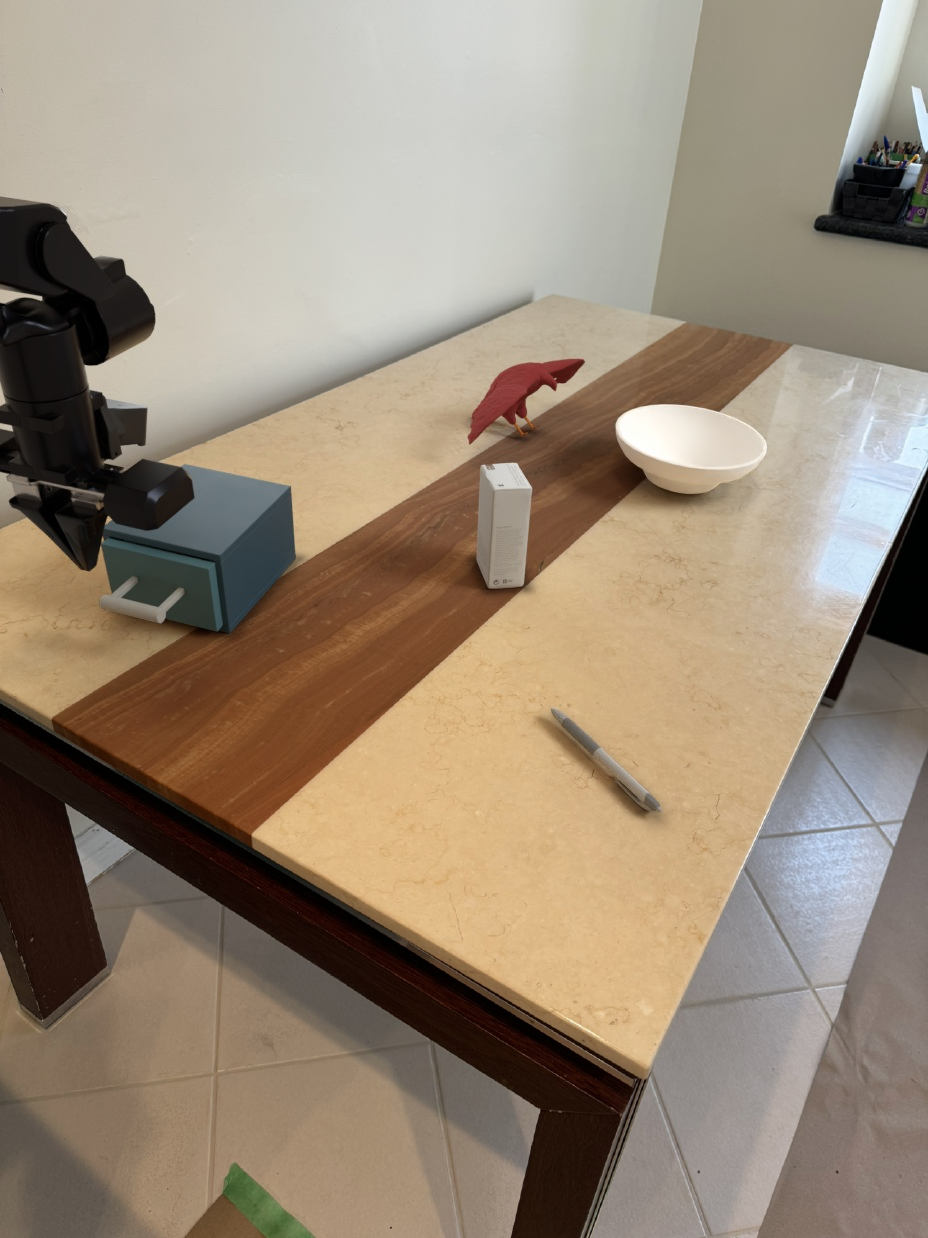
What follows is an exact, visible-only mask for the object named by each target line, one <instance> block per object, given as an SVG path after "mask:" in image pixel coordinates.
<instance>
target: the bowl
mask: <svg viewBox="0 0 928 1238" xmlns="http://www.w3.org/2000/svg"><path fill="white" fill-rule="evenodd" d="M615 436H616V441H617V443H618V445H619V447H620V449H621V451H622V452H623V454H624V456H625V457H626V458H627V459H628V460H629V461H630V462H631V463H633V464H634V465H635V466H637V467H638V468H640V469H641V470H642V471H643V473H644V475H645V477H646V478H647V480H648V481H649V482H651V483H652V484H654V485H655V486H656V487H659V488H661V489H664V490H667V491H670V492H674V493H679V494H686V495H695V494H696V495H698V494H705V493H708V492H710V491H712V490H714V489H715V488H717V486H719V485H720V484H727V483H730V482H734V481H738V480H740V479H742V478H743V477H745V476H746V475H748V474H749V473H750V472H752V471H754V470H755V469H756V468H757V467H758V466H759V464H760V463H761V462H762V460H763V459H764V457H765V455H766V454H767V451H768V445H767V442H766V440H765V438H764V437H763V436H762V434H761V433H760V432H759V431H757V430H756V429H755V428H754V427H753V426H751V425H749V424H748V423H746V422H744V421H743V420H741V419H739V418H736V417H734V416H732V415H728V414H725V413H723V412H721V411H716V410H712V409H709V408H704V407H700V406H699V407H698V406H692V405H685V404H684V405H683V404H668V403H667V404H665V403H664V404H663V403H662V404H650V405H644V406H638V407H636V408H632V409H629V410H627V411H625V412H624V413H622V414H621V415H620V416H618V418H617V420H616V422H615Z"/></svg>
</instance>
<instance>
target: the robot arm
mask: <svg viewBox="0 0 928 1238" xmlns="http://www.w3.org/2000/svg"><path fill="white" fill-rule="evenodd" d="M67 220H68V216H67V214H66V212H65V211H63V210H62V208H60V207H58V206H56V205H53V204H51V203H48V202H43V201H42V202H41V201H35V200H34V201H33V200H28V199H21V198H14V197H6V196H0V290H2V291H7V292H14V293H19V294H25V295H31V296H36V297H41V300H40V299H37V298H33V297H25V296H24V297H16V298H14V299H12V300H9V301H7V302H0V387H1V391H2V394H3V398H4V399H3V400H4V401H5V403H3V404H1V405H0V424H1V425H7V426H11V429H12V430H8V429H4V428H0V473H1V474H6V476H5V478H6V482H8V483H11V486H12V490H13V493H14V495H13V496H12V497H11V498H9V500H8V504H9V506H10V507H11V508H12V509H15V510H17V511H20V512H21V513H22V515H24V516H25V517H26V518H27V519H28V520H29V521H31V523H33V524H34V526H36V527H37V528H38V529H39V530H40V531H41V532H43V533H44V535H46V537H48V538H49V539H50V540H51V541H52V542H53V543H54V544H55V546H57V547H58V549H60V550H61V552H63V553H64V555H66V557H68V559H69V560H70V561H71V562H72V563H73V564H74V565H75V566H76V567H77V568H78V569H79V570H80V571H83V572H87V573H88V572H91V571H92V570H93V569H95V568H96V567H97V565H98V560H99V555H100V551H101V543H102V542H103V532H104V528H105V525H106V524H107V520H108V517H109V518H110V520H113V521H114V522H115V523H116V524H118V525H123V526H127V527H131V528H136V529H140V530H144V531H150V530H155V529H158V528H160V527H161V526H162V525H163V524H164V523H166V522H167V521H168V520H169V519H170V518H172V517H173V516H174V515H175V514H176V513H177V512H179V511H180V510H181V509H182V508H183V507H185V506H186V505H187V504H188V503H189V502H191V501H192V500H193V499H194V498H195V497H194V490H193V483H192V478H191V476H190V473H189V472H188V471H186V470H185V469H184V468H182V467H181V466H180V465H175V464H170V463H165V462H161V461H155V460H151V459H145V458H142V459H140V460H139V461H137V462H135V464H133V465H131V466H130V467H129V468H127V469H126V468H125V467H123V466H120V465H114V464H110V463H106V461H107V460H109V461H110V460H111V461H114V460H116V459H117V458H119V457H120V456H122V455H123V450H122V447H123V446H131V445H132V446H133V445H137V446H138V447H145V446H146V445H147V427H148V410H149V409H148V406H146V405H143V404H138V403H137V404H136V403H132V402H131V403H130V402H127V401H122V400H117V399H116V400H115V399H111V398H106V396H105V395H104V394H103V392H101V391H97V390H93V389H90V384H89V380H88V375H87V370H86V366H89V367H93V366H95V367H96V366H99V365H102V364H104V363H106V362H108V361H110V360H111V359H114V358H115V357H117V356H119V355H121V354H123V353H125V352H126V351H128V350H130V349H132V348H134V347H136V346H138V345H140V344H141V343H143V342H145V341H147V340H148V339H149V338H150V337H151V336H152V334H153V332H154V330H155V327H156V320H157V319H156V310H155V306H154V305H153V303H152V302H151V300H150V298H149V296H148V294H147V292H146V291H145V290H144V287H142V286H141V285H140V283H138V281H137V280H135V279H134V278H133V277H131V276H130V275H128V274H127V270H126V264H125V260H124V259H123V258H120V257H115V256H109V255H108V256H107V255H98V256H95V257H93V256H92V254H91V253H90V252H89V251H88V250H87V248H86V246H85V245H84V244H83V242H81V240H80V239H79V237H78V236H77V234H76V233H75V232H74V231H73V230H72V228H71V226H70V224H69V222H68V221H67Z"/></svg>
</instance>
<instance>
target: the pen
mask: <svg viewBox="0 0 928 1238" xmlns="http://www.w3.org/2000/svg"><path fill="white" fill-rule="evenodd" d="M550 713H551V715H552V716H553V718H554V719H555V721H556V722H557V723H558V724H559V725H560V726H561V728H562V729H564V730H565V731H566V732H567V733H568V734H569V735H570V736H571V737H572V738H573V739H574V740H575V741H577V743H578V744H580V745H581V746H582V747H583V748H584V749H585V750H586V751H587V752H588V753H589V754H590V755H591V756H592V757H593V758H594V759H596V760H597V761H598V762H599V763H600V764H601V765H603V767H604V768H606V769H607V770H608V772H610V773H611V774H612V777H613V778H614V780H615V782H616V783H617V784H618V785H619V787H620V788H621V789H622V790H623V791H624V792H625V793H626V795H628V796H629V798H630V799H632V800H633V801H634V802H635V803H636V804H637V805H638V806H639V807H641V808H642V809H644V810H646V811H648V812H657V813H658V814H661V813H662V812H663V808H662V807H661V804H660V803H659V801H658V800H657V799H656V797H655V796H653V794H652V793H650V792H649V791H648V790H647V789H646V788H645V787H644V786H642V784H640V783H639V782H638V781H637V780H636V779H635V778H634V777H633V776H632V775H631V774H630V773H629V772H628V771H627V770H626V769H624V768H623V766H621V765H620V764H619V763H618V762H616V760H615V759H614V758H613V757H611V756H610V755H609V754H608V753H607V752H606V751H605V749H604V748H602V746H601V745H599V744H598V743H597V742H596V741H595V740H593V738H592V737H591V736H589V735H588V734H587V732H585V731H584V730H583V729H582V728H580V726H579V725H578V724H577V723H575V721H573V720H572V719H571V718H570V717H568V716H567V715H566V714H564V713H563V712H562V711H560V710H558V709H556V708H554V707H550ZM628 790H629V791H630V792H629V791H628Z"/></svg>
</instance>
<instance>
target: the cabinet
mask: <svg viewBox="0 0 928 1238" xmlns="http://www.w3.org/2000/svg"><path fill="white" fill-rule="evenodd" d="M180 467H182V468H184V469H185V470H186V471H188V472H189V473H190V476H191V478H192V483H193V490H194V497H195V498H194V499H193V500H192V501H191V502H189V503H188V504H187V505H186V506H185V507H183V508H182V509H181V510H180V511H179V512H177V513H176V514H175V515H174V516H173V517H172V518H170V519H169V520H168V521H167V522H166V523H164V524H163V525H162V526H161V527H160V528H158V529H155V530H150V531H144V530H140V529H136V528H131V527H127V526H123V525H118V524H116V523H115V522H114V521H113V520H112V519H110V521H108V522H106V524H105V528H104V532H103V537H102V540H103V541H105V540H106V539H107V538H111V539H115V540H120V541H124V542H125V540H127V541H131V542H136V543H140V544H144V545H149V546H153V547H157V548H161V549H166V550H170V551H174V552H179V553H183V554H187V555H191V556H196V557H200V558H204V559H209V560H213V561H214V563H215V567H216V575H217V582H218V590H219V597H220V605H221V613H222V620H223V626H222V627H221V628H220V629H219V630H218V631H217V632H221V633H225V634H231V633H232V632H233V631H234V629H235V628H236V627H237V626H238V625H239V624H240V623H241V622H242V621H243V619H244V618H245V617H247V615H248V614H249V613H250V611H251V610H252V609H254V607H255V606H256V605H257V604H258V603H259V602H260V600H261V599H262V598H263V597H264V596H265V594H266V593H267V592H268V591H269V590H270V589H271V588H272V586H273V585H274V584H275V583H276V582H277V581H278V580H279V579H280V578H281V576H282V575H284V574H285V572H286V571H287V569H289V567H290V566H291V565H292V564H293V563H294V562H295V561H296V559H297V556H296V555H297V554H296V542H295V541H296V540H295V528H294V527H295V525H294V524H295V523H294V512H293V511H294V510H293V495H292V486H291V485H287V484H283V483H278V482H273V481H269V480H263V479H258V478H255V477H249V476H244V475H240V474H236V473H235V474H234V473H230V472H225V471H220V470H217V469H216V470H215V469H211V468H206V467H201V466H198V465H197V466H196V465H191V464H187V463H184V464H182V465H181V466H180Z"/></svg>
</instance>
